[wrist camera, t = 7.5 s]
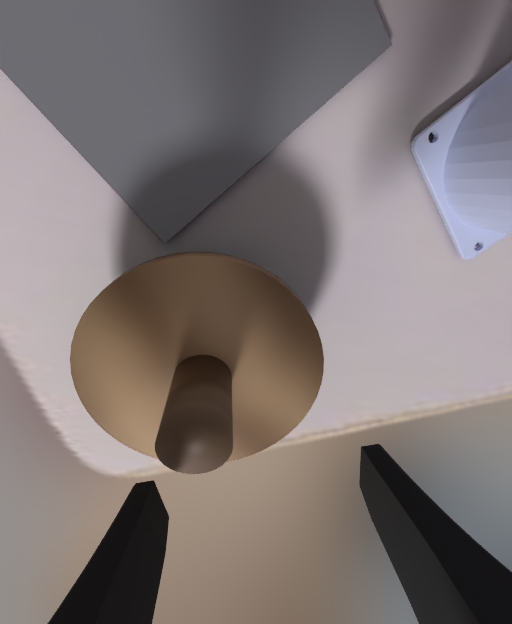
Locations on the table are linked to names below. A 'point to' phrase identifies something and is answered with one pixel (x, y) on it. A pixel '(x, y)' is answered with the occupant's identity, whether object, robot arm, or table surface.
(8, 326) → the table surface
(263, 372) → the lid
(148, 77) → the mat
